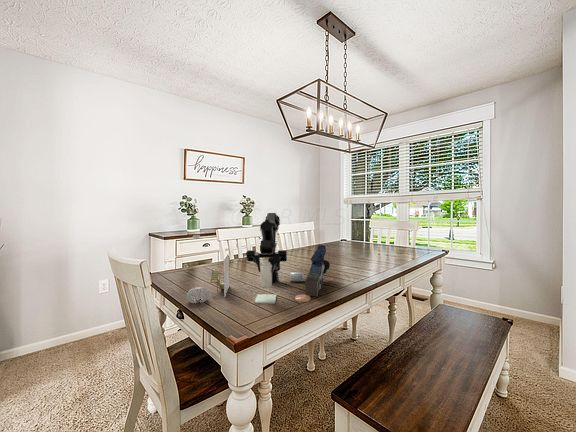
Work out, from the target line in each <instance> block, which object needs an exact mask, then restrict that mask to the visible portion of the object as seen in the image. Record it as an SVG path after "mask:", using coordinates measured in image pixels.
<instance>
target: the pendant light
mask: <svg viewBox="0 0 576 432" xmlns="http://www.w3.org/2000/svg"><path fill="white" fill-rule="evenodd" d="M192 238H194V239H195V240H198V239H199V238H201V235H200V234H194V235H193V236H192ZM196 267H197V269H196V270H197V271H196V272H197V274H196V275H197V276H196V277H197V278H199V276H198V267H199V266H196ZM209 295H210V291H209V289H208V288H206V287H205V286H204V287H203V286H196V287H192V288H191V289H189V290H188V292H187V294H186V298H187V301H188V302H189V303H191V304H194V303H195V304H196V303H197V304H198V301H199V302H200V303H199V304H201V302H202V303H204V302H205V301H207V300H208V299H209ZM201 298H202V299H201ZM200 299H201V300H202V301H201V300H200ZM196 300H197V301H196ZM194 301H195V302H194Z"/></svg>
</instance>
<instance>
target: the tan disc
mask: <svg viewBox="0 0 576 432" xmlns="http://www.w3.org/2000/svg"><path fill="white" fill-rule="evenodd" d="M311 297H312V296H308V295H306V294H297V295H295V299H294V300H295V301H296V302H299V303H307V302H310V301H311Z"/></svg>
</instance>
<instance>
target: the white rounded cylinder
mask: <svg viewBox="0 0 576 432" xmlns="http://www.w3.org/2000/svg"><path fill="white" fill-rule="evenodd" d="M303 281H304V272H298V271H297V272H295V271H293V272H292V271H290V272H289V282H294V283H295V282H300V283H303Z"/></svg>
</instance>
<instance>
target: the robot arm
mask: <svg viewBox="0 0 576 432" xmlns="http://www.w3.org/2000/svg"><path fill="white" fill-rule="evenodd" d="M280 219H281V217H280V216H279V215H277V213H276V212H268V213H267V216H265V219H264V221H262V222H261V223H260V225H259V230H260V232H261V236H262V239H261V240H260V246H259V247H260V248H259V250H260V253H259V252H256V250H253V249H251V250H247V251H246V254H245V258H246V260H247V261H246V262H253V264H254V263H255V264H256V266H257V270H258V273H260V264H261V261H260V260H261V258H263V257H269V259H268V262H270V264H272V284H275V283H276V282H278V281H279V280H280V279H279V272H280V270H281V265H280V264H281V262H287V261H288V259H287V258H288V252H287V250H285V249H283V250H277V253H276V246H277V245H276V243H277V242H276V240H277V239H276V237H277V232H278V231H279V228H280V227H279V226H280V225H281V224H280V223H281V222H280V221H281V220H280Z"/></svg>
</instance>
